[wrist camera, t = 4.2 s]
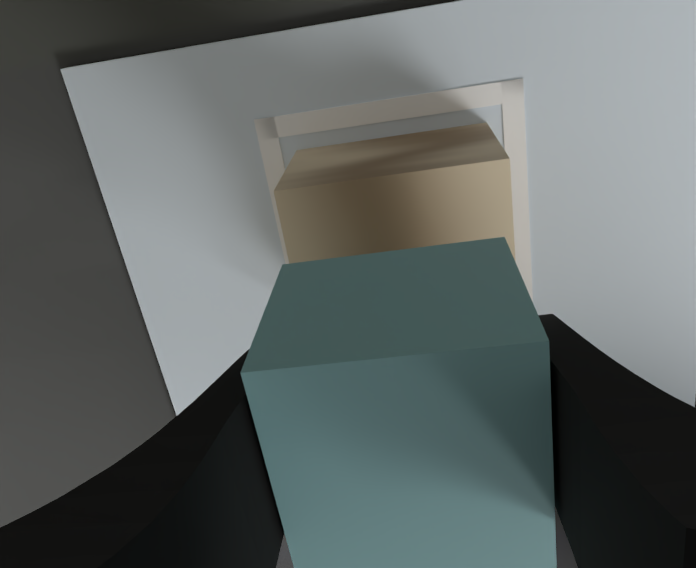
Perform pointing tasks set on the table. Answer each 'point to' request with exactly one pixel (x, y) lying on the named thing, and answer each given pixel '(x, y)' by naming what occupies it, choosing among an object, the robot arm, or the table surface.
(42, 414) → the table surface
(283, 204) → the base block
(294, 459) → the teal block
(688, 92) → the board
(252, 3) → the table surface
